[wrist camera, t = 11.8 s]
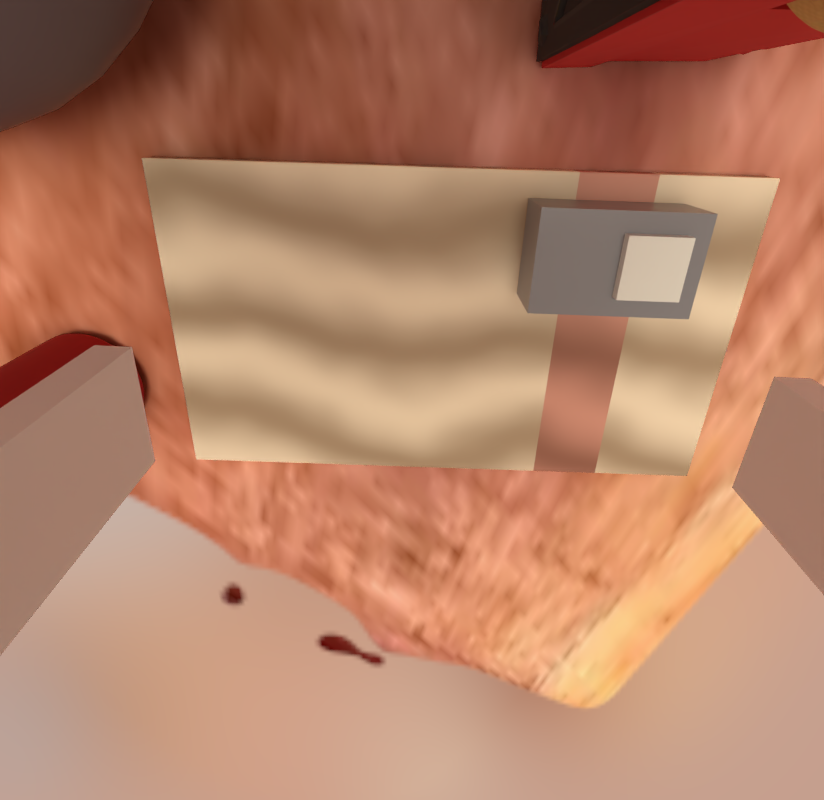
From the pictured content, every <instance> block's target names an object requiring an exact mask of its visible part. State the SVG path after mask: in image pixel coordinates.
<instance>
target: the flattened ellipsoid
mask: <svg viewBox="0 0 824 800" xmlns="http://www.w3.org/2000/svg"><path fill="white" fill-rule="evenodd" d="M152 2H153V0H0V132H1V131H4V130H7V129H10V128H12V127H15V126H17V125H20V124H22V123H25V122H27V121H30V120H33V119H35V118H38V117H40V116H43V115H45V114H48V113H50V112H53V111H55V110H58V109H59V108H61V107H62V106H63V105H65V104H66V103H67V102H69V101H70V100H71V99H73V98H74V97H75V96H77V95H78V94H79V93H81V92H82V91H83V90H85V89H86V88H87V87H89V86H90V85H91V84H93V83H94V82H95V81H97V80H98V79H99V78H101V77H102V76H103V75H104V74H105V72H106V71H107V70H108V69H109V67H110V66H111V65H112V64H113V62H114V61H115V60H116V58H117V57H118V56H119V55H120V53H121V52H122V51H123V50H124V48H125V47H126V46H127V45H128V43H129V42H130V41H131V40H132V38H133V37H134V36H135V35H136V33H137V32H138V31H139V29H140V27H141V25H142V23H143V21H144V19H145V17H146V14H147V12H148V10H149V8H150V6H151V4H152Z"/></svg>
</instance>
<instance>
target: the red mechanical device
mask: <svg viewBox="0 0 824 800" xmlns="http://www.w3.org/2000/svg"><path fill="white" fill-rule="evenodd" d="M820 38H824V0H542V9H541V19H540V23H539V35H538V51H537V61H542V68H566V67H592V66H595V65H598V64H601V63H604V62H607V61H707V60H712V59H717V58H722V57H726V56H731V55H736V54H746V53H749V52H750V51H755V50H760V49H770V48H775V47H780V46H785V45H790V44H795V43H800V42H805V41H810V40H815V39H820Z"/></svg>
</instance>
